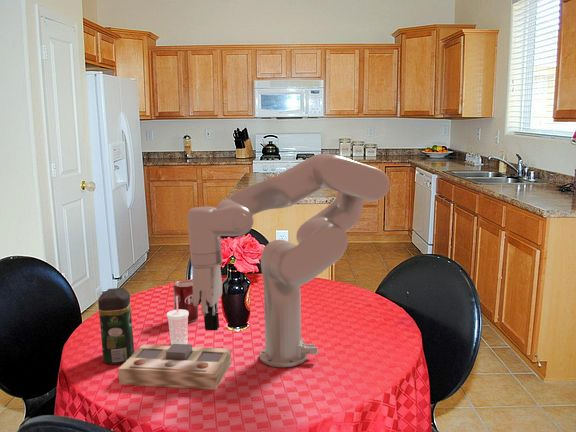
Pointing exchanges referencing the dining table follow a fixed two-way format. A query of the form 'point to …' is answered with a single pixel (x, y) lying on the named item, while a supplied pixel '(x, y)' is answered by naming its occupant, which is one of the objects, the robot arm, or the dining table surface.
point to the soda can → (185, 298)
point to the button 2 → (210, 357)
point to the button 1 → (149, 354)
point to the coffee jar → (116, 325)
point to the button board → (175, 369)
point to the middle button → (179, 352)
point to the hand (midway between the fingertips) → (212, 328)
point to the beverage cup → (178, 325)
